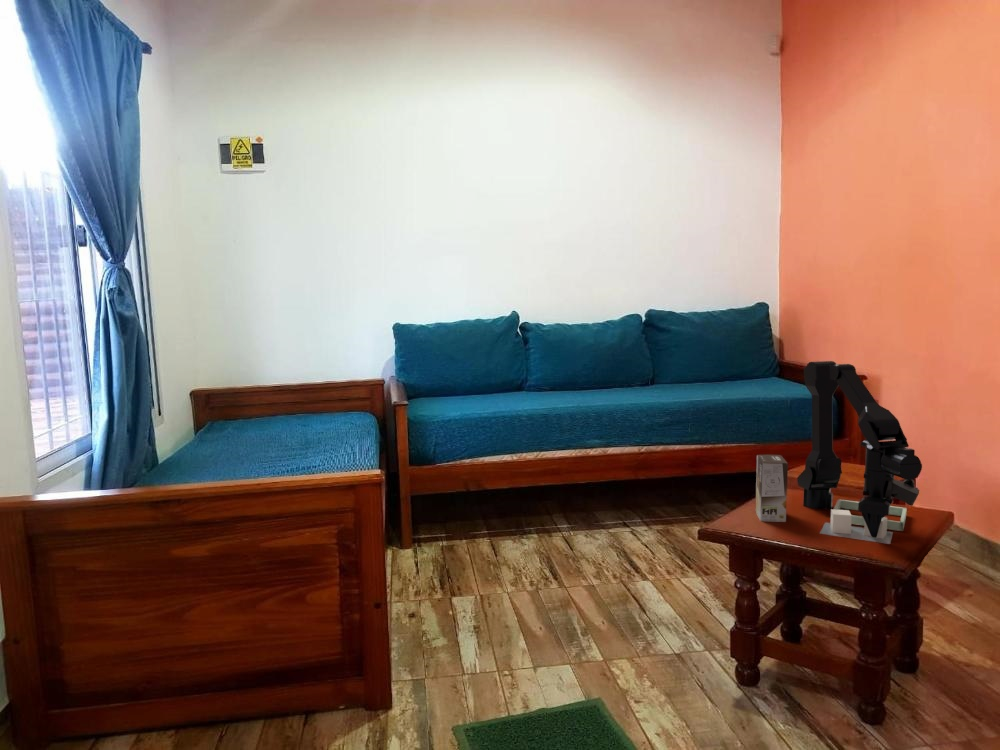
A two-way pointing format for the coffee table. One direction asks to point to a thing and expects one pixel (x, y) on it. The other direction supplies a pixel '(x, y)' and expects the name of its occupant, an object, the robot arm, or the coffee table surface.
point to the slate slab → (857, 534)
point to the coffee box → (771, 488)
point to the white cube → (840, 521)
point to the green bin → (860, 520)
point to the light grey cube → (881, 531)
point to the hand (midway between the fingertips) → (875, 533)
